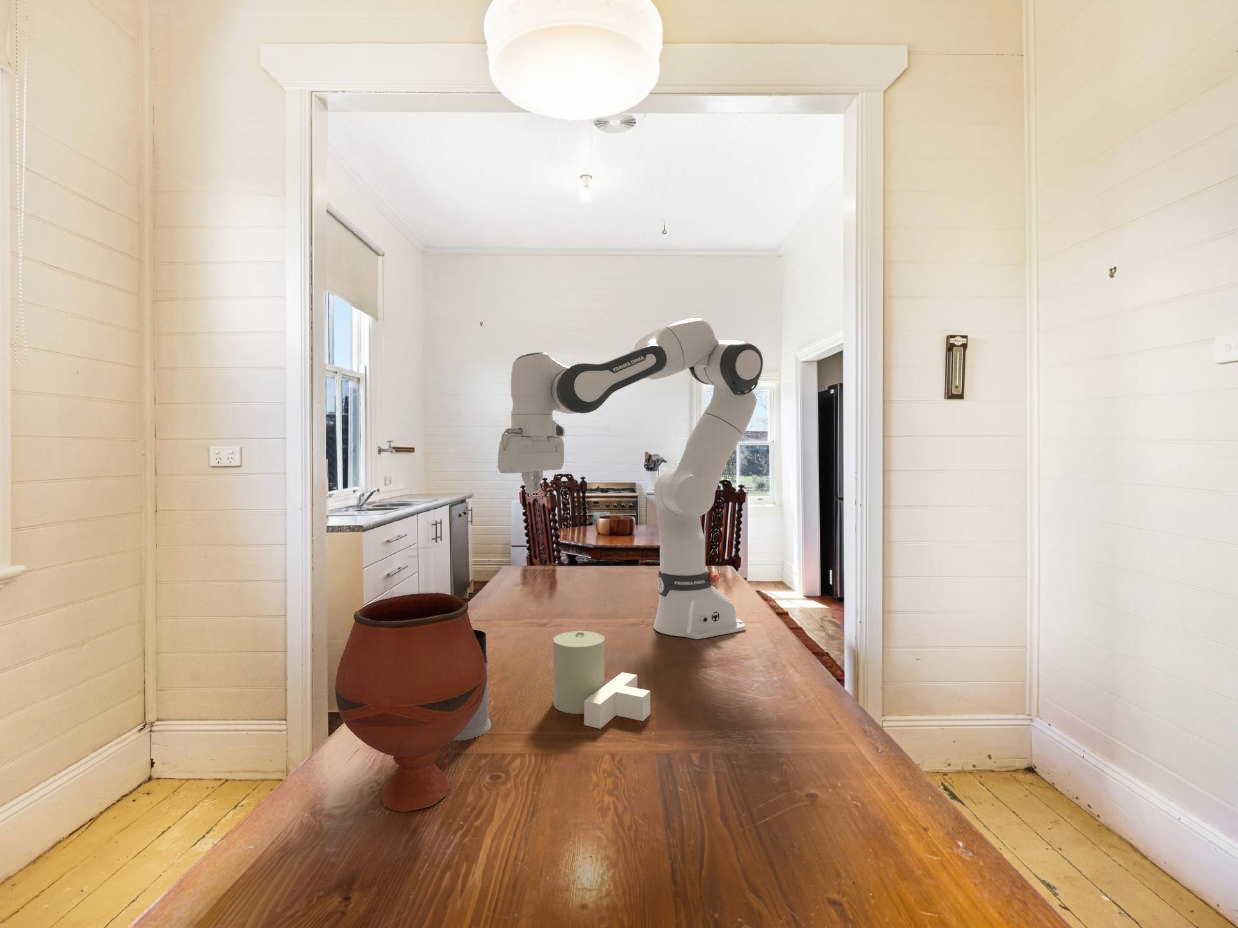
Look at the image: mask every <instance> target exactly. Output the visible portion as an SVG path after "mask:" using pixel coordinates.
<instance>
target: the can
mask: <svg viewBox="0 0 1238 928" xmlns="http://www.w3.org/2000/svg"><path fill="white" fill-rule="evenodd" d="M605 640H606V639H605V636H604V635H603V634H601V633H598V632H595V631H590V630H588V631H587V630H573V631H566V632H562V633H559V634H557V635H555V636H554V637H553V639H552V643H553V645H552V646H553V680H554V681H553V700H552V701H553V702H552V705H553V707H554V708H555V709H556V710H558V711H559V712H562V713H565V714H570V715H583V714H584V700H586V699H587V698H588V697H590V696H591V695H593V694H594V693H595V692H597V691H598V690H599V689H601V688H602V687H603V686H605Z"/></svg>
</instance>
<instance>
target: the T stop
mask: <svg viewBox="0 0 1238 928" xmlns="http://www.w3.org/2000/svg"><path fill="white" fill-rule="evenodd" d="M650 715H651V690H648V689H643V688H638V675H637V674H635V673H634V674H633V673H628V672H623V671H622V672H620V673H619V674H618V675H616V676H615V677H613V678H612V679H611V680H610V681H609V682H607V683H606V684H604V686H603V687H602V688H601V689H599V690H598V691H597V692H595V693H594V694H593V695H591V696H590V697H588V698H587V699H586V700H584V715H583V716H584V717H583V720H584V721H583V726H588V727H592V728H597V729H602V728H603V727H604V726H605V725H607V724H608V723H609V722H610V721H612V719H613V718H614V717H616V716H618V717H622V718H627V719H631V720H637V721H642V722H644V721H645V720H646V719H647V718H648V717H649V716H650Z"/></svg>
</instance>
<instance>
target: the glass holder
mask: <svg viewBox="0 0 1238 928" xmlns="http://www.w3.org/2000/svg"><path fill="white" fill-rule="evenodd" d="M473 631H474V633H475V636H476V638H477V640H478V642H479V645H480V647H481V650H482V653H483V656H484V660H485V664H486V668H487V682H486V688H485V692H484V696H483V699H482V702H481V704H480V707H479V709H478V710H477V712H476V713H475V715H474V716H473V718H472V719H471V720H470V722H469V723H468V724H467V726H466V727H465V728H464V729H463V730H462V731H461V733H460V734H458V735H457V736H456V737H455V738H454V739H453V740H452V741H454V740H455V741H456V740H458V741H466V740H465V739H468V740H472V739H475V738H474V737H476V738H478V736H479V737H481V736H483V735H484V734H486V733H488V732H489V731H490V729H491V727H492V722H491V720H490V719H489V689H488V688H489V686H488V682H489V681H488V678H489V677H488V676H489V674H488V670H489V668H488V666H489V665H488V664H489V663H488V656H487V634H486V632H485V631H483V630H480V629H474V628H473ZM488 730H489V731H488ZM482 734H483V735H482Z"/></svg>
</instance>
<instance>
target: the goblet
mask: <svg viewBox="0 0 1238 928" xmlns="http://www.w3.org/2000/svg"><path fill="white" fill-rule="evenodd" d="M468 610H469V603H468V602H467V601H465V600H464V599H463V598H461V597H459V596H457V595H452V594H450V593H449V594H447V593H444V592H430V593H429V592H426V593H425V592H424V593H421V592H419V593H410V594H409V593H408V594H403V595H399V596H398V595H397V596H391V597H387V598H383V599H379V600H376V601H373V602H369V604H366V605H365V606H363V607H361V608H360V609H358V610H357V611H355V612H354V614H353V620H354V621H353V624H352V627H351V630H350V633H349V636H348V638H347V641H346V645H345V647H344V649H343V652H342V655H341V657H340V660H339V664H338V667H337V672H336V677H335V683H334V690H335V691H334V692H335V700H336V706H337V709H338V713H339V715H340V717H341V720H342V722H343V723H344V724H345V726H346V728H347V729H348V730H349V731H351V733H352V734H354V736H356V737H357V738H358V739H359V740H360V741H362V742H363V743H364V744H366V745H367V746H369V747H370V748H372V749H373V750H376V751H378V752H380V753H382V754H385V755H388V756H390V757H391V756H392V757H393V758H392V759H393V761H394V763H395V764H396V765H398V766H397V769H395V772H394V773H393V774H392V775H391V777H390V778H388V780H387V782H386V783H385V784H384V786H383V789H382V792H381V795H380V796H381V801H382V803H383V807H386V808H387V809H389V810H391V811H394V812H402V813H403V812H405V813H406V812H411V811H417V810H422V809H425V808H429V807H433V806H434V805H436V804H437V803H439V802H440V801H442V800H443V799H444V798H445V797H447V794H448V792H449V790H450V785H451V784H450V781H449V779H448V777H447V776H446V774H445V773H444V772H443V771H442V770H441V769H440V767H438V766H437V765H436V764H435V761H436V760H437V759H438V758H439V757H440V755H441V753H442V752H441V748H443V747H445V746H446V745H447V744H449V743H450V742H451V741H453V739H454V738H455V737H456V736H457V735H458V734H460V733H461V731H462V730H463V729H464V728H465V727H466V726H467V724H468V723H469V722H470V720H471V719H472V718H473V716H474V715H475V713H476V712H477V710H478V709H479V707H480V704H481V702H482V699H483V696H484V692H485V688H486V682H487V668H486V664H485V660H484V656H483V653H482V650H481V647H480V645H479V642H478V640H477V638H476V636H475V633H474V631H473V629H474V628H473V625H472V623H471V620H470V615H469V613H468ZM443 797H444V798H443ZM441 799H442V800H441Z"/></svg>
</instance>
